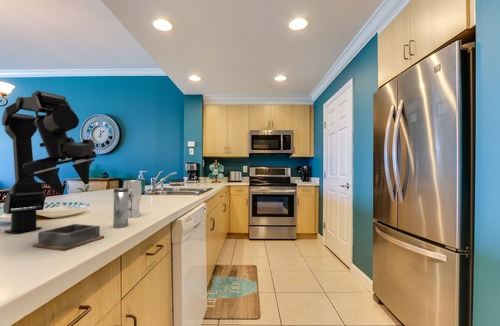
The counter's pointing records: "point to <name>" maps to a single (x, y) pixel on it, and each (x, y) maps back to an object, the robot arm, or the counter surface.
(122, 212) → the brushed metal canister
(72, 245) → the socket
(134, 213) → the beer glass
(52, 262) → the counter surface
